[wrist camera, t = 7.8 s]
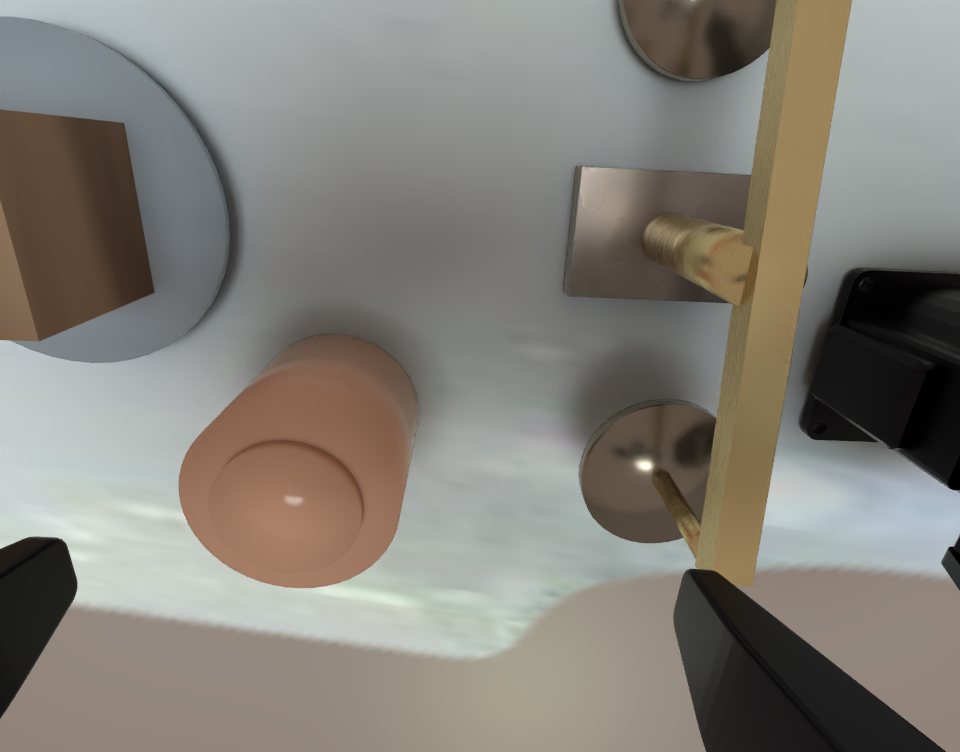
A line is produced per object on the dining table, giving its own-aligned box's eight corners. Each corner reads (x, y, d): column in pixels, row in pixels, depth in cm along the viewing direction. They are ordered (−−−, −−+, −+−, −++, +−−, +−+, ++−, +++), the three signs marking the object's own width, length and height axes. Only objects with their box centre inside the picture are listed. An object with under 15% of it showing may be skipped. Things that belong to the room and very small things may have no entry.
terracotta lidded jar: (419, 337, 19) (396, 418, 13) (418, 478, 21) (399, 603, 15) (250, 330, 19) (149, 410, 13) (268, 474, 21) (188, 598, 15)
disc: (215, 36, 16) (197, 27, 14) (253, 357, 19) (241, 368, 18) (-140, 15, 15) (-185, 4, 14) (-31, 346, 19) (-60, 356, 18)
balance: (827, -119, 14) (1293, -482, 6) (689, 477, 22) (823, 670, 13) (608, -134, 14) (797, -532, 6) (543, 473, 21) (588, 666, 13)
